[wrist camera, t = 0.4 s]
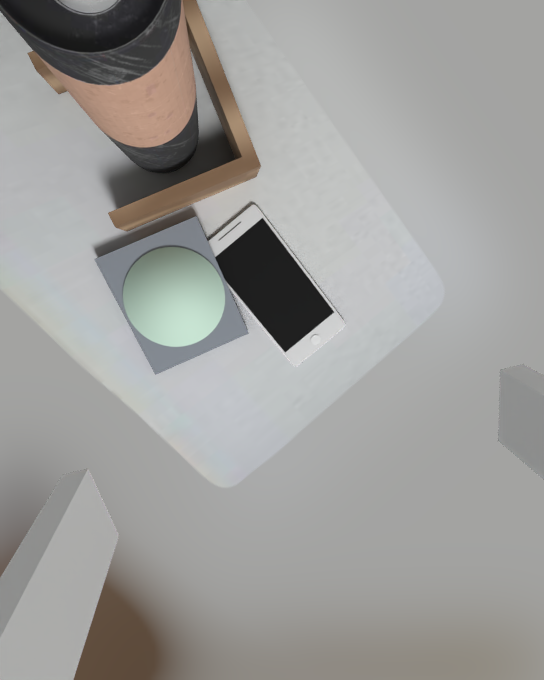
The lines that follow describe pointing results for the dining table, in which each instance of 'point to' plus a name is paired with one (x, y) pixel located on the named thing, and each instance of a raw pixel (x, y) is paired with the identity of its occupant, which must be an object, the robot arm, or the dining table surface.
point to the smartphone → (274, 286)
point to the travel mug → (121, 70)
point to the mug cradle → (228, 116)
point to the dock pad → (173, 295)
